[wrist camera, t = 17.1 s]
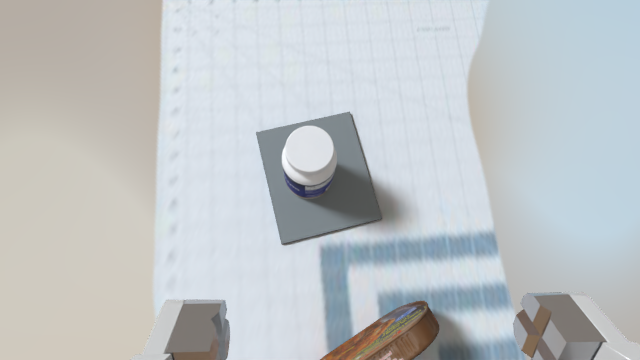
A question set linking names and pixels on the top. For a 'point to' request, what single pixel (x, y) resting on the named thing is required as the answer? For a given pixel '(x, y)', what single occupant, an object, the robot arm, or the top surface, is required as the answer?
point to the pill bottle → (309, 162)
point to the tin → (392, 336)
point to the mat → (338, 201)
